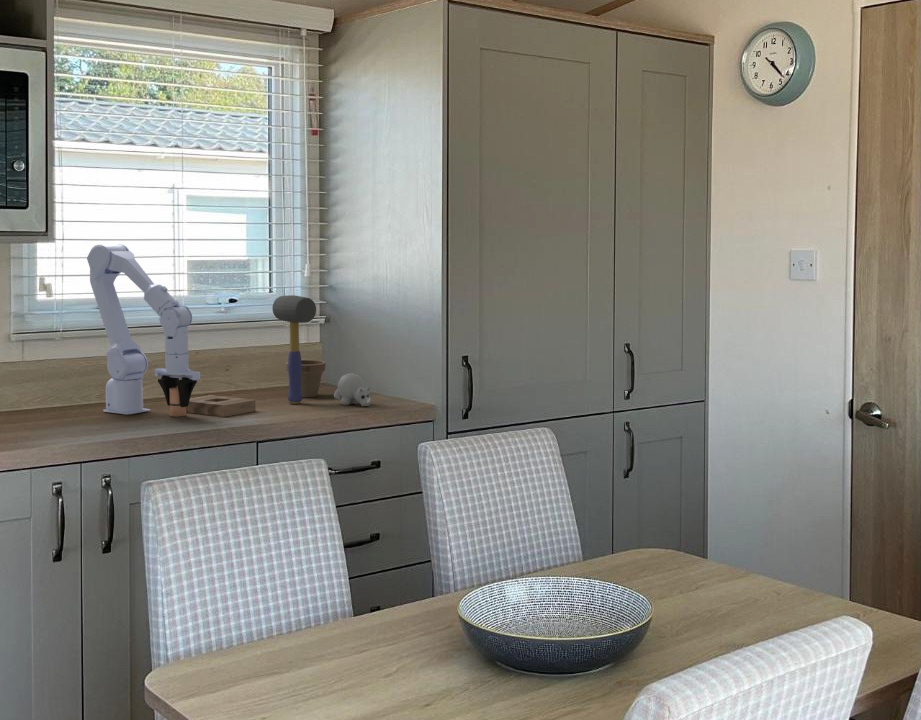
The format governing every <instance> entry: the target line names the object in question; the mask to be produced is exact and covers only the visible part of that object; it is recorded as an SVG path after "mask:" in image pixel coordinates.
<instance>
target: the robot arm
mask: <svg viewBox="0 0 921 720" xmlns="http://www.w3.org/2000/svg"><path fill="white" fill-rule="evenodd" d="M86 260H87V264H88V266H89V282H90V286H91V289H92V292H93V295H94V298H95V301H96V305H97V307H98V310H99V314H100V317H101V320H102V323H103V326H104V330H105V333H106V335H107V338H108V342H109V345H110V346H109V348H108V349H107V351H106V352H105V356H106V360H107V362H106V363H107V365H106V366H107V371H108V373H109V375H110V376H111V378H110V379H109V380H108V381H107V382H106V385H105V409H103V411H102V412H104V413H112V414H121V415H134V414H140V413H145V412H146V413H147V412H150V411H151V409H150V408H144V393H143V392H144V390H143V388H144V387H143V383H144V382H143V378H144V376H145V375H144V374H145V373H146V372H147V370H148V368H149V361H148V358H147V356H146V354H144V353H143V351H142V349H141V346H140V345H139V344H138V343H137V342H136V341H134V340H133V339H132V336H131V333H130V330H129V326H128V324H127V321H126V318H125V314H124V312H123V308H122V305H121V303H120V300H119V297H118V293H117V290H116V286H115V285H114V283H115V281H116V279H117V277H118V276H119V275H120V274H122V273H123V274H124V275H125V276H127V277H128V279H129V280H130V281H132V282H133V284H134V285H136V287H137V288H139V289H140V290H141V291H142V292H143V294H144V295H143V300H144V301H145V302H146V303H147V305H149V307H150V308H151V309H152V310H153V311H154V312H155V314H157V315H158V317H159V318H158V319H159V324H160V326H161V327H162V329H163V335H164V350H165V351H164V352H165V354H164V355H165V356H164V357H165V359H164V360H165V368H161V367H160V368H159V367H158V368H155V369H154V377H160V378H158V379H157V383H158V384H159V385H160V387H161V389H162V391H163V394H164V397H165V401H166V404H167V406H169V407H170V388H175V387H178V391H179V400H180V406H181V407H187V406H188V405H189V400H190V398H191V395H192V393H193V390H194V388H195V386H196V384H197V383H198V381H199V380H201V372H200V371H195V370H191V368H189V326H190V325H191V323H192V321H193V313H192V312H191V310H190V309H189V307H188V306H186V305H183V304H180V303H179V301H178V300H176V299H175V298H174V297H173V296H172V294H170V293H169V292H168V288H167V286H164V285H162V284H155V283H154V282H153V280H152V279H151V278H150V277H149V275H148V274H147V273H146V271H145V270H144V269H143V268H142V266H141V265H140V264H139V262H137V260H136V259H135V255H134V253H133V252H132V251H131V250H130V249H129V247H127V245H125V244H120V243H119V244H100V243H99V244H96V245H94V246H92V248H91V249H90V251H89V253H88V254H87V257H86Z"/></svg>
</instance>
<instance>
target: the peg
mask: <svg viewBox="0 0 921 720" xmlns="http://www.w3.org/2000/svg"><path fill="white" fill-rule="evenodd" d="M169 416H170V417H178V418H179V417H186V416H187V412H186V407H181V406H180V400H179V391H178V387H175V388H170V406H169Z"/></svg>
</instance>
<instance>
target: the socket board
mask: <svg viewBox="0 0 921 720" xmlns="http://www.w3.org/2000/svg"><path fill="white" fill-rule="evenodd" d="M252 412H256V399H250V398H242V397H235V396H234V397H233V396H222V395H215V394H214V395H213V394H209V395H203V396H197V397H190V400H189V405H188V406H187V407H186V414H187V413H189V414H196V415H197V414H198V415H203V416H204V415H205V416H213V417H220V418H221V417H222V418H224V417H229V416H235V415H241V414H247V413H252Z"/></svg>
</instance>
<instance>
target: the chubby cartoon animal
mask: <svg viewBox="0 0 921 720" xmlns="http://www.w3.org/2000/svg"><path fill="white" fill-rule="evenodd" d="M370 389H371V387H365V384H364V381H363V379H362V377H361V376H360V375H358V374H356V373H345V374H344V375H342V376H341V377H340V379H339V380H338V382H337V389H336V390H335V391H334V394H333V398H334V399H336V400H339V401H340V404H341V405H343V406H346V405H348V406H349V405H350V404H352V405H358V404H360V406H362V407H363V406H368V407H369V406H370V405H371V397H370ZM357 403H358V404H357Z"/></svg>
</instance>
